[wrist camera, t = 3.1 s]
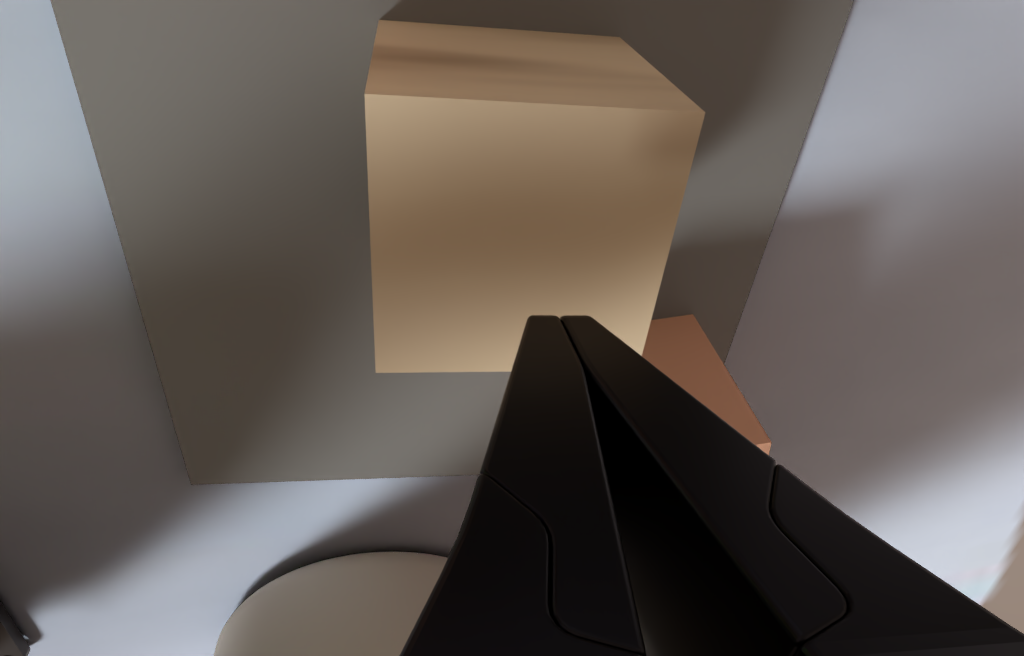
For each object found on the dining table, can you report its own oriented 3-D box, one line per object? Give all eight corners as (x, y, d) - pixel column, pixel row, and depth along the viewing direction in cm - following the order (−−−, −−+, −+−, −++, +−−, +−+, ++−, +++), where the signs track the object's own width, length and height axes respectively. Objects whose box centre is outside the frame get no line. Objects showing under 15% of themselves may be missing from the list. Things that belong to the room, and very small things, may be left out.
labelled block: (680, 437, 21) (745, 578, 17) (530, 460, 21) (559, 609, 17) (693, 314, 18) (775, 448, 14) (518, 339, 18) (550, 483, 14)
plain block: (583, 245, 17) (637, 370, 13) (384, 242, 16) (375, 372, 12) (619, 36, 14) (705, 112, 10) (378, 20, 13) (364, 93, 9)
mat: (683, 459, 23) (686, 467, 22) (194, 474, 20) (191, 484, 20) (1031, -542, 10) (1051, -555, 10) (-172, -827, 7) (-198, -857, 7)
